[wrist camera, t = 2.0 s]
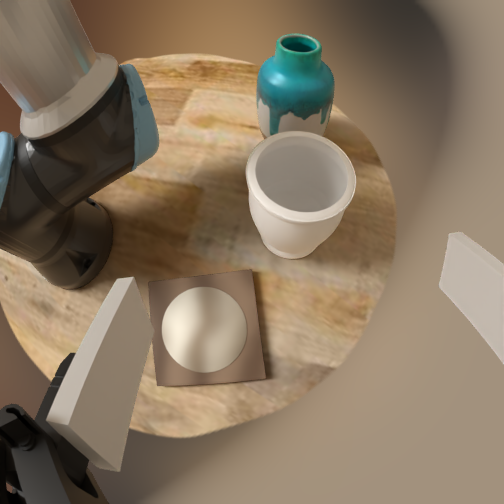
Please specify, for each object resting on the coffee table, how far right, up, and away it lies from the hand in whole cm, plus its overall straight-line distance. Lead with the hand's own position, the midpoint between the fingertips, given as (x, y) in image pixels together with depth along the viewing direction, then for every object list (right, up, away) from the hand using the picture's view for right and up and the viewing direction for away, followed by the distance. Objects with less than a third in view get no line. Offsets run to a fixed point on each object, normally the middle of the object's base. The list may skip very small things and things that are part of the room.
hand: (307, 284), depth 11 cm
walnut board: (-8, -9, +26) cm, 29 cm away
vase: (+4, +20, +35) cm, 40 cm away
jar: (+3, +4, +30) cm, 30 cm away
